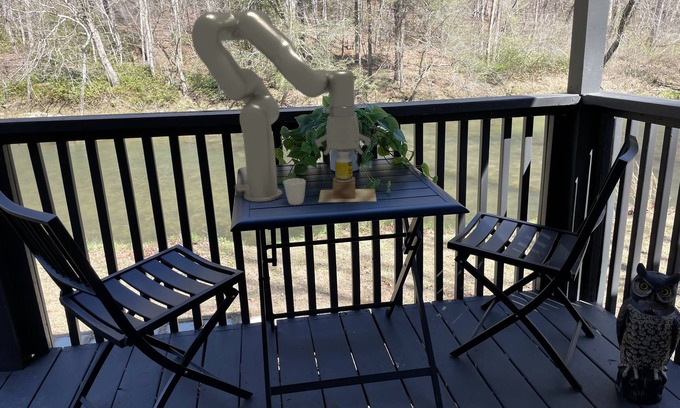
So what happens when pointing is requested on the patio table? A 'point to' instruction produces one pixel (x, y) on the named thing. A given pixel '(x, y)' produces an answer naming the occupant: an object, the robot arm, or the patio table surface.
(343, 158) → the supplement bottle
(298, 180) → the cup
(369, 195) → the board
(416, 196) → the patio table surface
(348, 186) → the block
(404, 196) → the patio table surface
